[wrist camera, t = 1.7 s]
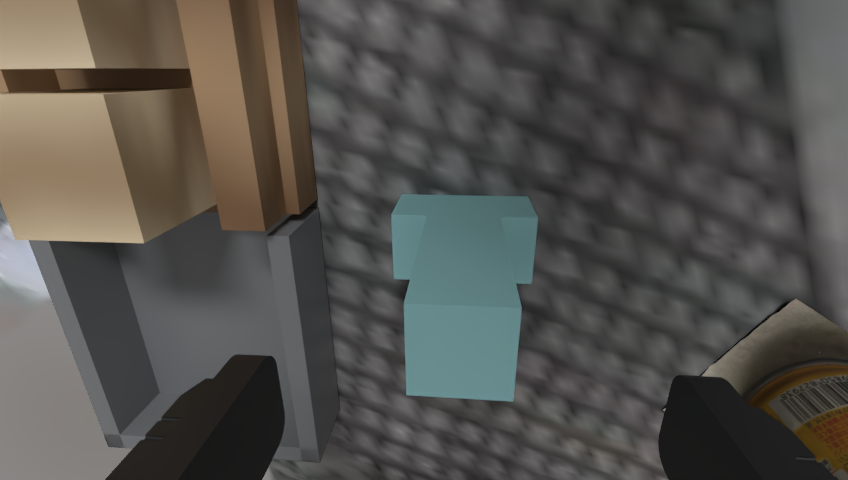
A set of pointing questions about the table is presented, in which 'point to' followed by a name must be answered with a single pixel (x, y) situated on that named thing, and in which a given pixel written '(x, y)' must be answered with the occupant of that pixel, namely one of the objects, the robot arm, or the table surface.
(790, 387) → the condiment
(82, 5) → the tan wooden cube
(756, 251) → the table surface
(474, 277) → the teal t-shaped block
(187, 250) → the tray
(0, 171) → the tan block
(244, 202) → the slot board
